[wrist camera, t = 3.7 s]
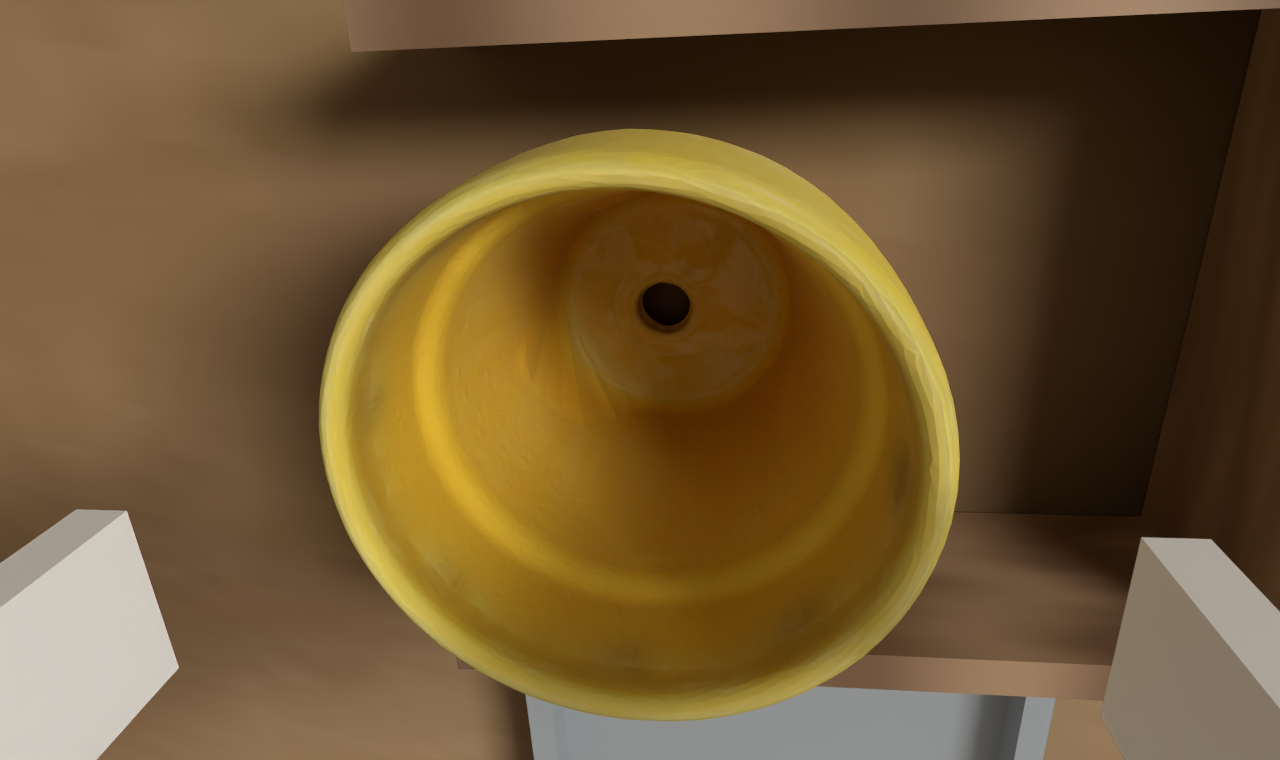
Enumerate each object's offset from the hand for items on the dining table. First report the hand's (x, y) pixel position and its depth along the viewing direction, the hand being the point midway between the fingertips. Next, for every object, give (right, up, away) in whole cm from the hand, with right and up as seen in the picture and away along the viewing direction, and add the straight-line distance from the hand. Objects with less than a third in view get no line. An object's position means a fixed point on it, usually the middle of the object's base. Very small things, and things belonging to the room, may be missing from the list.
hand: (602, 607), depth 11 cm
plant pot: (+1, +5, +11) cm, 12 cm away
